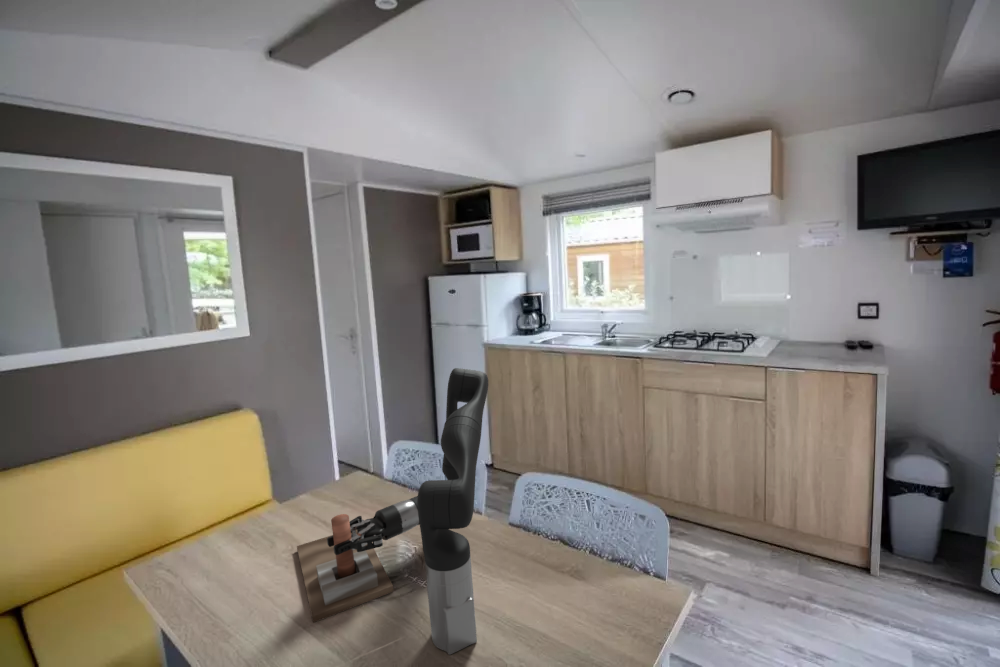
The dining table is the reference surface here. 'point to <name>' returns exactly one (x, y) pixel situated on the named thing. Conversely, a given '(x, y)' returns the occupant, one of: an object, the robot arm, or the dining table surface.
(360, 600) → the socket board
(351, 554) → the pin
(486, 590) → the dining table surface
